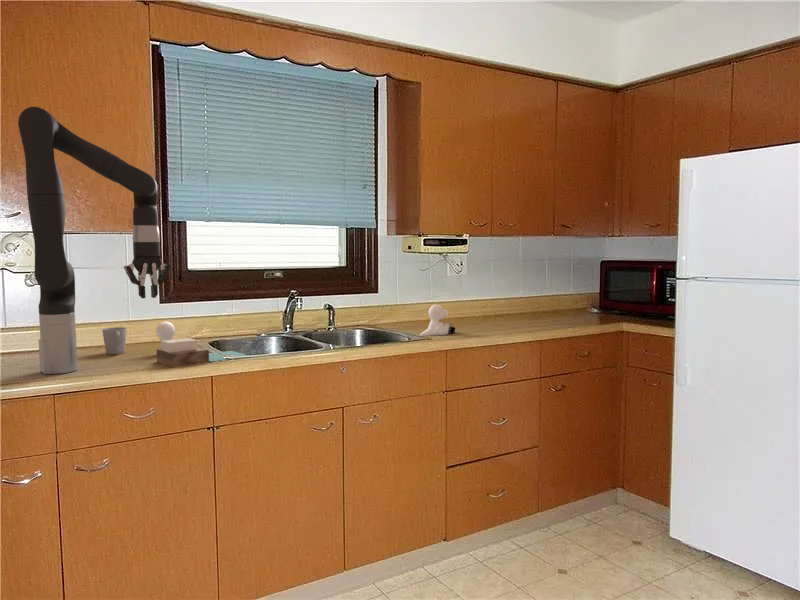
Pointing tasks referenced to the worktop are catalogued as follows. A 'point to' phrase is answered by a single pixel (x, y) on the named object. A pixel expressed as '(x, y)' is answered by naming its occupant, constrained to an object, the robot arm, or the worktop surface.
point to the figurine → (435, 326)
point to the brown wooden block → (183, 357)
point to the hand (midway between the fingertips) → (148, 297)
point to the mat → (216, 357)
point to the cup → (114, 340)
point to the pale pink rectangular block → (179, 345)
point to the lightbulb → (165, 331)
